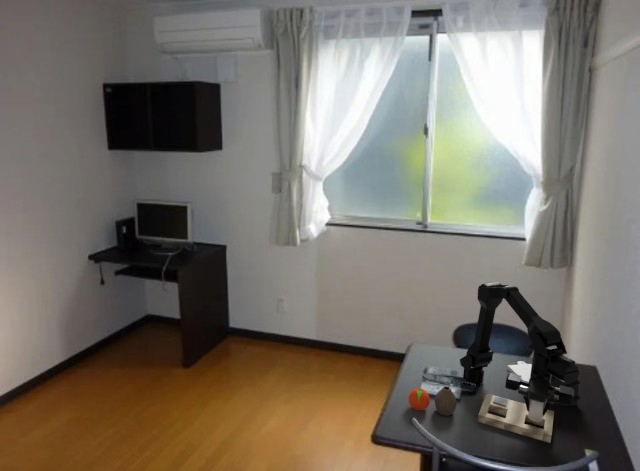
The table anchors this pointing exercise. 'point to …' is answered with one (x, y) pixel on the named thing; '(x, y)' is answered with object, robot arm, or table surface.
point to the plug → (536, 410)
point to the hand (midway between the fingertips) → (535, 412)
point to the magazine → (557, 382)
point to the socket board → (514, 418)
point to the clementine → (419, 399)
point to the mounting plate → (521, 370)
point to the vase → (445, 401)
